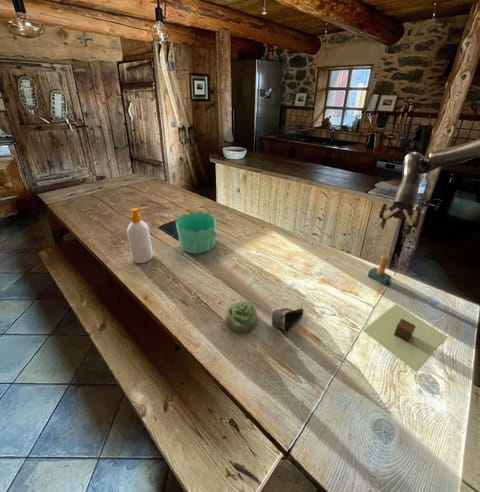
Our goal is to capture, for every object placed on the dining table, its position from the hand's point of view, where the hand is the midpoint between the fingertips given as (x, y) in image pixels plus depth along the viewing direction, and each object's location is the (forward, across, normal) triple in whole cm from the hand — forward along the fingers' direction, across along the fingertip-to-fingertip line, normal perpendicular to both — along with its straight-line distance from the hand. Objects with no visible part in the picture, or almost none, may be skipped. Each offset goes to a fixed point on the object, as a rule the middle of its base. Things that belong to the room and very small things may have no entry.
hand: (394, 231), depth 107 cm
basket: (+37, +76, +13) cm, 86 cm away
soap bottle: (+53, +87, +29) cm, 106 cm away
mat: (+36, -12, +12) cm, 40 cm away
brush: (+20, 0, -4) cm, 21 cm away
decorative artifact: (+55, +33, +30) cm, 70 cm away
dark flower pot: (+48, +21, +24) cm, 58 cm away
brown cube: (+37, -11, +13) cm, 41 cm away
